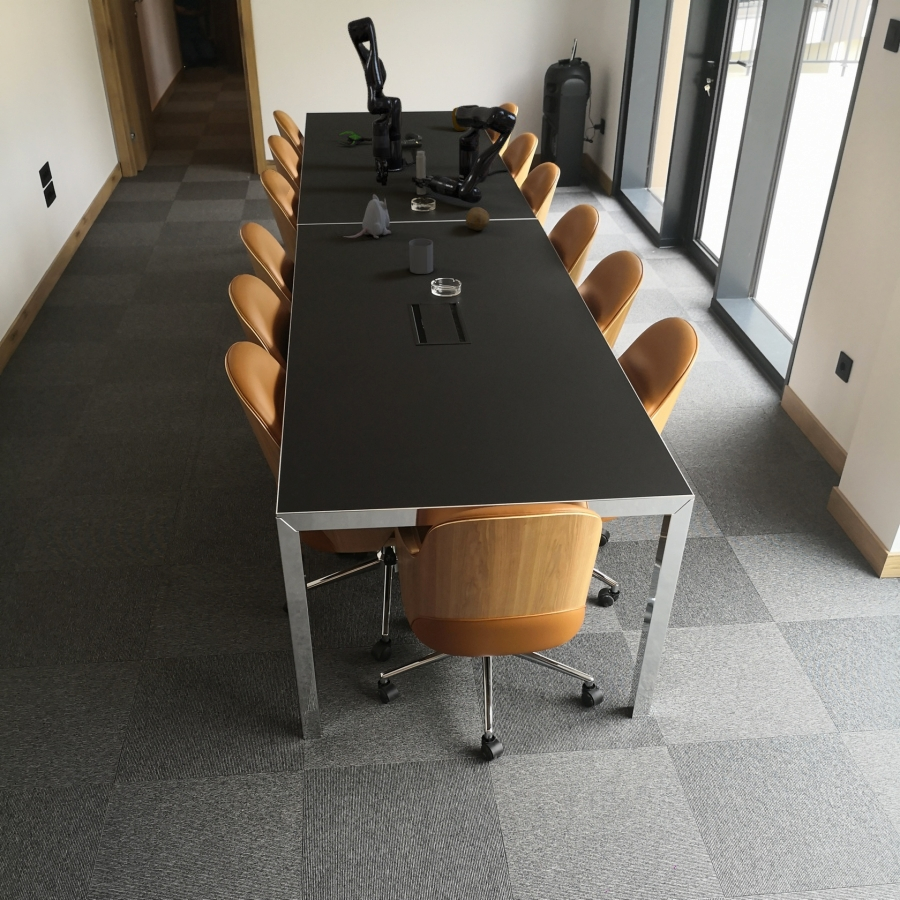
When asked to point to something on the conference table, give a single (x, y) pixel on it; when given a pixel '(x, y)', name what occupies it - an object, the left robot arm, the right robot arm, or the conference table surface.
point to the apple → (456, 122)
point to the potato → (477, 218)
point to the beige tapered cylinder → (421, 170)
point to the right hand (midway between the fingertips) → (417, 178)
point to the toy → (375, 219)
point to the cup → (421, 256)
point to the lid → (379, 179)
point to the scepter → (354, 139)
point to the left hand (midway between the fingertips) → (382, 183)
